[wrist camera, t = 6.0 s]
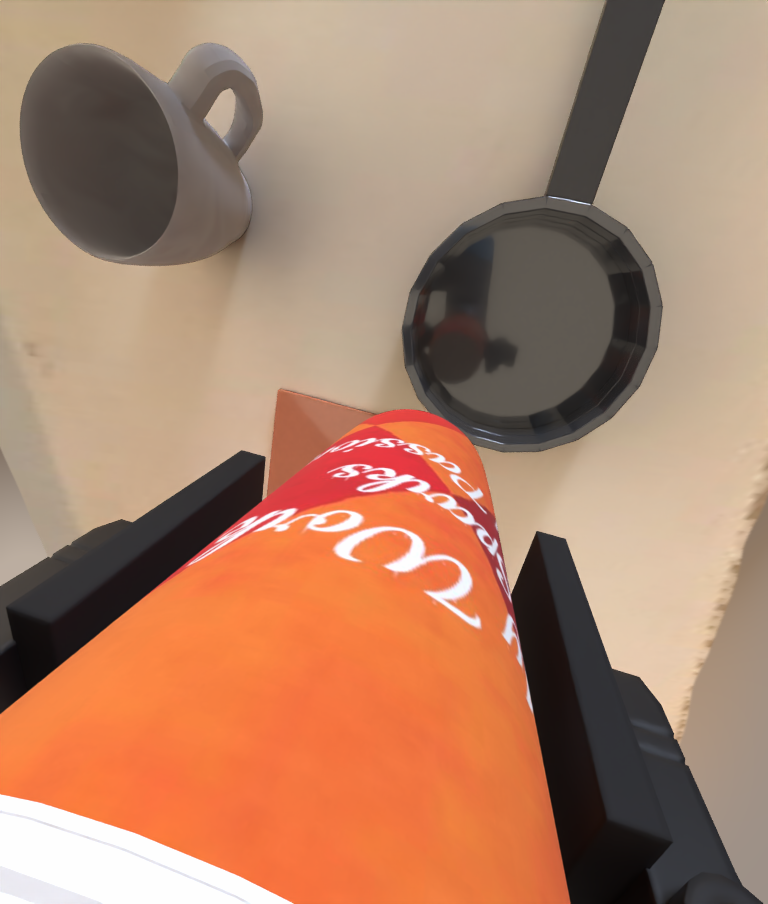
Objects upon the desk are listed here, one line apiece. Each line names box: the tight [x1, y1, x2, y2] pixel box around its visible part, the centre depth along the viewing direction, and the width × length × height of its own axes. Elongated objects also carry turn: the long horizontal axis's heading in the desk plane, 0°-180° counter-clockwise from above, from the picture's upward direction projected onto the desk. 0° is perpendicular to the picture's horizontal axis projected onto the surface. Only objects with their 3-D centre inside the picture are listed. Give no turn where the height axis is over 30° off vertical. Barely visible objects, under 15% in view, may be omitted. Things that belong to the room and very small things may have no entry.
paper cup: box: [0, 409, 571, 904], centre depth 9 cm, size 8×8×14 cm
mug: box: [20, 43, 263, 266], centre depth 23 cm, size 12×9×10 cm
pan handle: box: [544, 0, 665, 205], centre depth 20 cm, size 10×2×1 cm, turn 168°
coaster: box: [267, 389, 376, 497], centre depth 33 cm, size 10×10×1 cm
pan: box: [402, 196, 663, 452], centre depth 25 cm, size 14×14×4 cm
